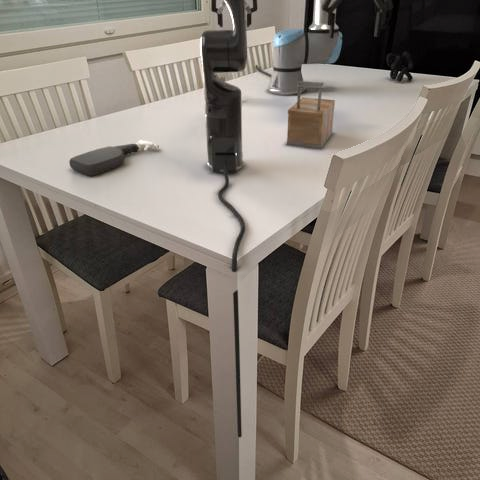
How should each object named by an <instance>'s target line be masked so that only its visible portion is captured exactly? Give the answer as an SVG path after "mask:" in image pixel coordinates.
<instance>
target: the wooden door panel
mask: <svg viewBox="0 0 480 480" xmlns="http://www.w3.org/2000/svg"><path fill="white" fill-rule="evenodd" d="M297 87H298V94H297V101H296V102H295V103H294V104H293V105H292V106H291V107H290V108H289V109H287V115H288V114H296V115H306V116H315V117H323V116H324V115H325V114H326V113H327V112H328V111H329V109H330V108H331V107H332V106H333V105H334V104H335V103H336V100H335V99H327V98H322V93H323V91H322V90H323V88H324V83H323V82H320V81H318V82H317V81H305V80H303V81H298V82H297ZM301 87H303V88H305V89H317V90H318V92H317V93H318V94H317V95H318V96H317V98H316V97H301V95H302V93H301Z"/></svg>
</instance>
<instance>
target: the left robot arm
mask: <svg viewBox="0 0 480 480" xmlns="http://www.w3.org/2000/svg"><path fill="white" fill-rule="evenodd" d="M210 3H211V4H210V5H211V7H210V11H211V12H213V13H216V15H217V26H219V28H223V27H224V21H223V20H224V18H223V12H224V9H225V8H227V11H228V13H229V16H230V18H231V22H232V29H230V30H229V29H209V30H204V31H203V32H202V33H201V35H200V39H199V52H200V63H201V73H202V81H203V82H202V83H203V98H204V100H203V101H204V116H205V117H204V118H205V133H206V134H205V135H206V151H207V152H206V153H207V168H208V169H209V170H211V172H212V173H223V174H224V175H223V176H224V185H223V187H221V188H220V189H219V190H218V192H217V197H218V200H219V201H220V202H221V203H222V204H223V205H224V206H226V207H227V208H228V209H229V210H230V211H231V213H232V214H233V215H234V216H235V217H236V219H237V220H238V222H239V226H240V231H239V233H238V235H237V237H236V239H235V242H234V246H233V250H232V256H231V272H232V273H236V272H237V271H238V267H237V266H238V253H239V248H240V244H241V241H242V239H243V237H244V235H245V231H246V224H245V220H244V219H243V217H242V216H241V214H240V213H239V212H238V211H237V210H236V208H235V207H234V206H233V205H232V204H231V203H229V201H227V200H225V198H224V197H223V196H222V194H223V193H224V192H225V191H226V190H227V189H228V187H229V183H230V179H229V173H237V171H239V170H240V169H242V168H243V166H244V159H243V157H244V156H243V155H244V153H243V114H242V113H243V109H242V108H243V106H242V105H243V104H242V103H243V102H242V101H243V100H242V99H243V98H242V96H243V95H242V90H241V89H240V87H239V86H237V85H234V84H230V83H228V82H226V81H225V82H224V81H223V80H221V79H220V78H221V77H219V75H218V74H219V73H220V74H225V73H226V74H230V73H231V74H232V73H234V74H236V73H243V72H244V71H245V70H246V68H247V63H248V37H247V35H248V34H247V28H250V26H251V25H252V20H253V19H252V17H253V16H252V14H253V13H255V12H257V11H258V0H252V7H250V6H249V3H248V2H247V1H246V0H223V1H222V2H221V4H220V6H219V8H218V7H217V0H211V1H210ZM232 297H233V298H232V299H233V300H232V301H233V327H234V355H235V357H234V359H235V360H234V361H235V390H236V415H237V416H236V420H237V421H236V422H237V423H236V424H237V437H238V438H240V439H241V438H242V437H243V434H242V431H243V430H242V396H241V395H242V393H241V392H242V391H241V352H240V351H241V349H240V317H239V313H240V312H239V290H238V289H236V290H235V291H234V292H233V293H232Z"/></svg>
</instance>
